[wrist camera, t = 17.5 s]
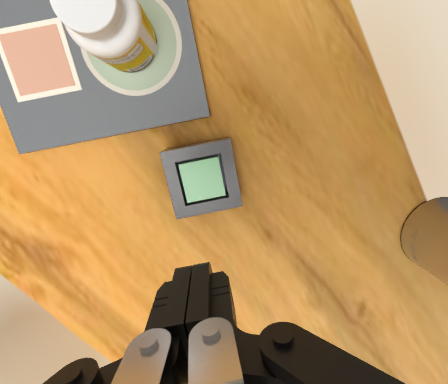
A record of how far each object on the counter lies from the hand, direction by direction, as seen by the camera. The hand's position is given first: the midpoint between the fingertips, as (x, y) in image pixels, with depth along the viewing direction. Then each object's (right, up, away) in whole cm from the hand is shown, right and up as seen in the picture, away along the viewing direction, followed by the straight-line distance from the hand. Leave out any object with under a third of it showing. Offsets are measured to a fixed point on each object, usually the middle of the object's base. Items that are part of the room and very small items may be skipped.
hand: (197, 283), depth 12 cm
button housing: (-1, +6, +19) cm, 20 cm away
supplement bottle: (-8, +18, +14) cm, 24 cm away
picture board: (-12, +18, +15) cm, 26 cm away
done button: (-1, +6, +17) cm, 18 cm away
